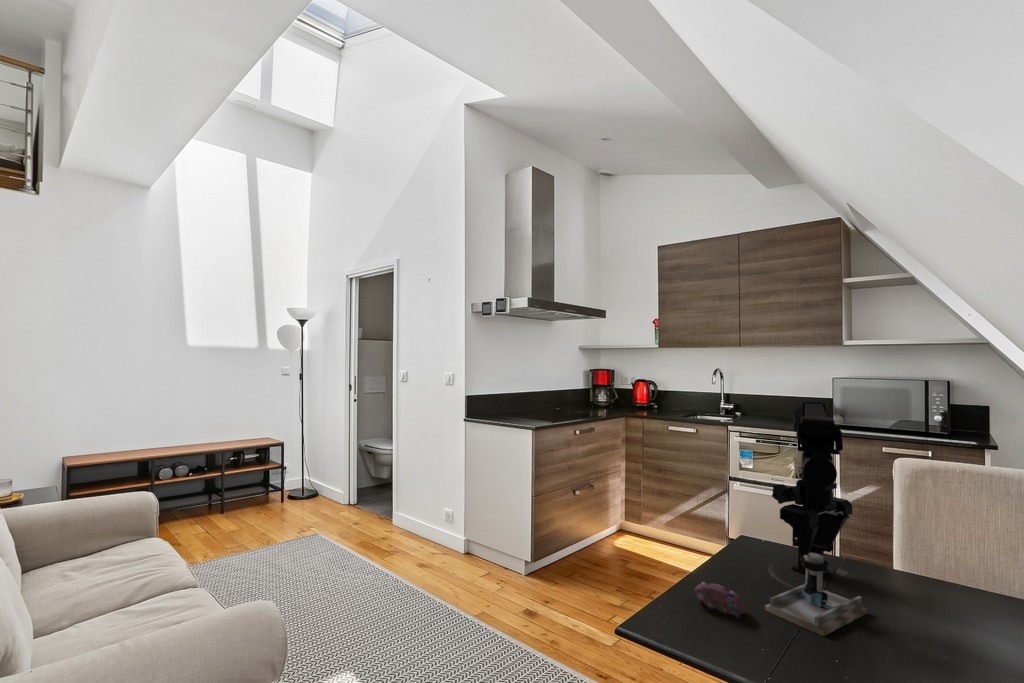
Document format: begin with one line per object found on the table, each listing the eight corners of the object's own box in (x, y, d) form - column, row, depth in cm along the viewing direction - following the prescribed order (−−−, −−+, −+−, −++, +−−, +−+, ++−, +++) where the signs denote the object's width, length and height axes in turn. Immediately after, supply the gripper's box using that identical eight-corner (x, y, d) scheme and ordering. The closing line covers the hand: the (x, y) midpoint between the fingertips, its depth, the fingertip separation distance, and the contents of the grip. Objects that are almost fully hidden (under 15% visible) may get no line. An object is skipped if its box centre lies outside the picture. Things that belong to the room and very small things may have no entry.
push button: (839, 609, 109) (840, 561, 110) (820, 612, 108) (820, 563, 108) (812, 595, 116) (813, 549, 116) (793, 598, 114) (794, 552, 114)
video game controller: (694, 611, 114) (689, 586, 112) (702, 595, 117) (697, 571, 115) (742, 627, 107) (737, 601, 105) (748, 610, 110) (744, 585, 108)
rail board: (809, 591, 121) (809, 578, 121) (867, 613, 111) (867, 599, 111) (764, 610, 111) (764, 596, 112) (823, 636, 101) (823, 620, 101)
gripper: (802, 465, 124) (802, 532, 123) (756, 474, 114) (755, 546, 113) (853, 475, 114) (853, 547, 114) (808, 485, 104) (807, 564, 104)
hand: (816, 550), depth 112 cm, fingers open, 9 cm apart
